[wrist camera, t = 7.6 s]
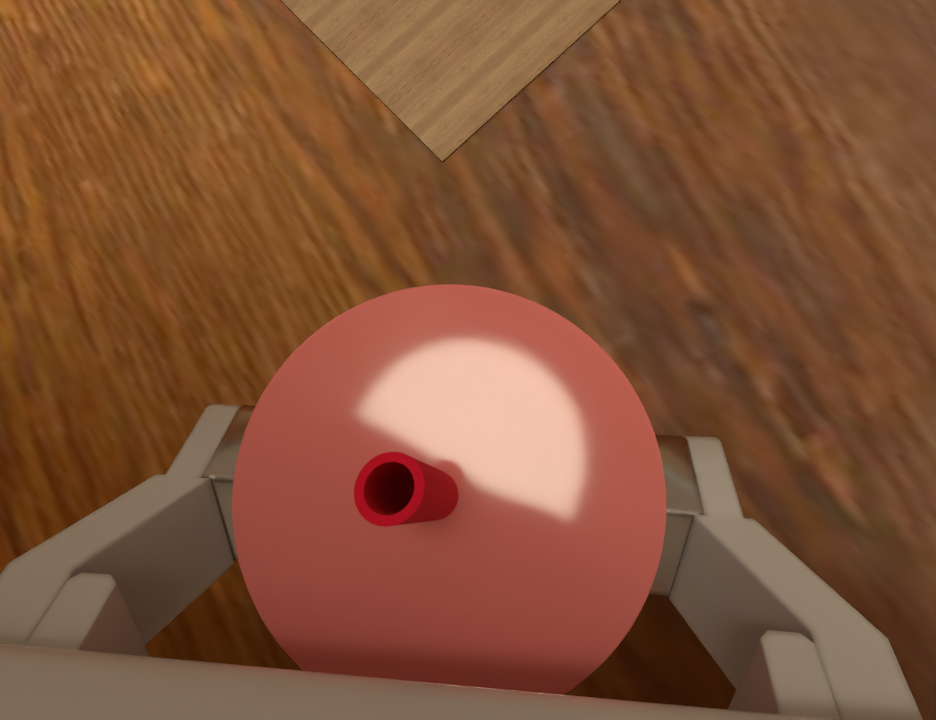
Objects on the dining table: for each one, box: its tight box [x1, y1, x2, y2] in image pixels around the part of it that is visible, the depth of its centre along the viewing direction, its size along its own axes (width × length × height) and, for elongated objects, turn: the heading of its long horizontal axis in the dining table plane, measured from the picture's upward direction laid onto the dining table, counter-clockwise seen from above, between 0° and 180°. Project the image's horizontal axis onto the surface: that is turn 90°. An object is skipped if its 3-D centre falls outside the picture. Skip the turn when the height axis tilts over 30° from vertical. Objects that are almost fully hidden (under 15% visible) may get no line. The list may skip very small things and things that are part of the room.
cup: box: [232, 284, 666, 695], centre depth 12 cm, size 5×5×12 cm
